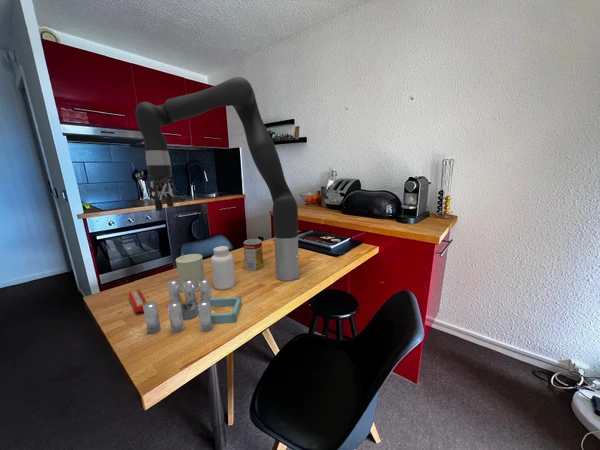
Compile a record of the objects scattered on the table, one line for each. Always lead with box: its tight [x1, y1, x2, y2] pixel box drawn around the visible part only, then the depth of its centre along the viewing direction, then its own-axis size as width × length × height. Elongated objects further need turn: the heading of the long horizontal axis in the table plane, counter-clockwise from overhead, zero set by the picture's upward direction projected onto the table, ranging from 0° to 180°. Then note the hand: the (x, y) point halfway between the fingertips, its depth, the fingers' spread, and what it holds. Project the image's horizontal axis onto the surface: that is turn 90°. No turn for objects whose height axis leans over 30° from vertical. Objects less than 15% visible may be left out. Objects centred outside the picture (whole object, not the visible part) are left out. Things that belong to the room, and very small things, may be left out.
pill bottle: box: [210, 245, 236, 290], centre depth 93 cm, size 8×8×15 cm
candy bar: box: [128, 289, 148, 313], centre depth 83 cm, size 16×4×3 cm, turn 41°
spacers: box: [143, 277, 214, 335], centre depth 76 cm, size 18×17×8 cm
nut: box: [181, 301, 199, 321], centre depth 76 cm, size 5×6×3 cm
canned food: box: [243, 238, 264, 271], centre depth 111 cm, size 8×8×12 cm
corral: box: [209, 296, 242, 324], centre depth 77 cm, size 10×10×2 cm
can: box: [175, 253, 206, 293], centre depth 93 cm, size 9×9×12 cm
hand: (165, 208), depth 93 cm, fingers open, 8 cm apart
